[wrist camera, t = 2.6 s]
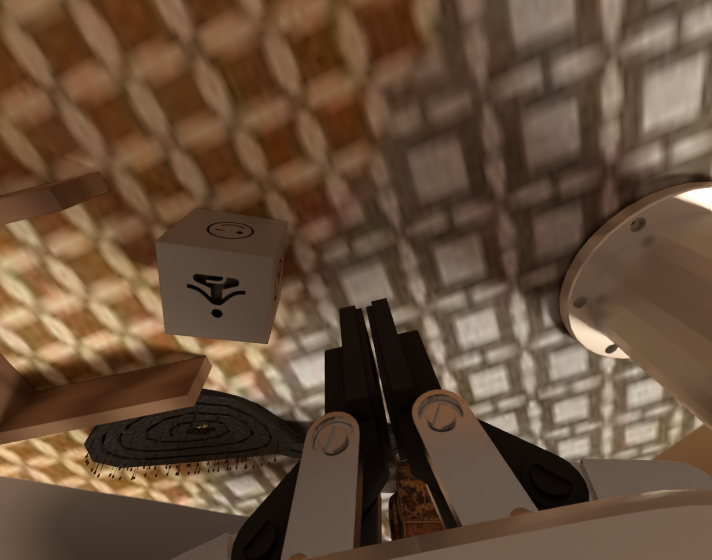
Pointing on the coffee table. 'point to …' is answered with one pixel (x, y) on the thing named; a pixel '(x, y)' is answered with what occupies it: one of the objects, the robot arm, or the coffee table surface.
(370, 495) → the robot arm
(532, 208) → the coffee table surface
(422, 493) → the book
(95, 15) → the coffee table surface
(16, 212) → the box
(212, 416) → the hairbrush
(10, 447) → the coffee table surface
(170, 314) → the dice cube
